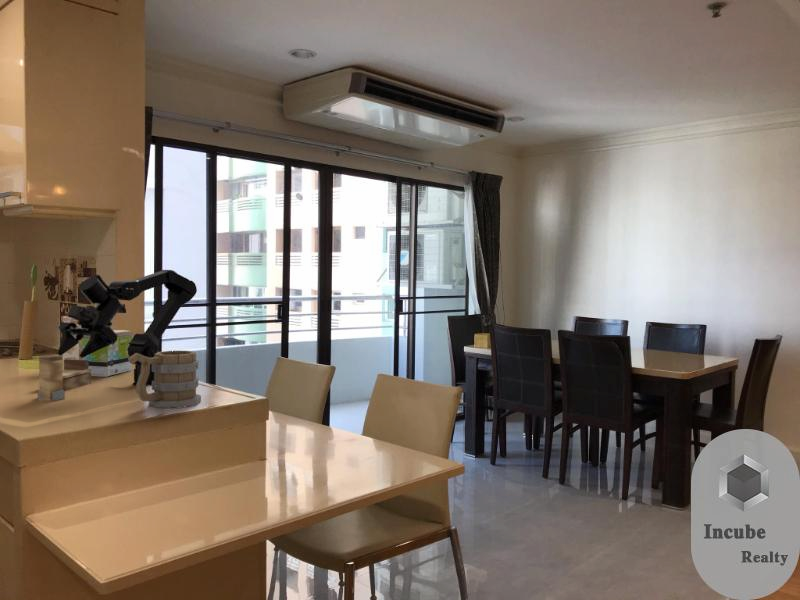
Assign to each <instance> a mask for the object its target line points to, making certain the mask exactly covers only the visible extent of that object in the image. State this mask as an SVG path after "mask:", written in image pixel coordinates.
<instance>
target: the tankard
mask: <svg viewBox="0 0 800 600" xmlns="http://www.w3.org/2000/svg"><path fill="white" fill-rule="evenodd" d="M128 360H129V362H130V363H131V364H132V365H135V364H134V363H135V362H136V361H139V362H141V370H140V375H139V378H138V381H137V385H136V394H137V395H138V397H139V400H141V401H142V402H148V405H149V406H150V405H151V407H154V406H155V408H158V407H159V409H170V408H169V407H182V408H185V407H184V406H188V407H192V406H191V405H194V406H197V405H198V404H199V403H200V402H201V401H202V395H201V394H197V388H198V387H199V378H198V377H197V370H199V360H197V352H196V351H194V350H193V351H191V350H165V351H164V350H163V351H158V353H155V354H154V357H153V358H149V357H146V356H143V355H141V354H139V353H135V354H134V355H132V356H131V357H129V358H128ZM150 364H152V372H154V380H153V381H152V385H151V389H152V390H153V391H154V392H151V393H148V392H147V388H146V387H147V385H146V382H147V379H148V376H149V372H150Z"/></svg>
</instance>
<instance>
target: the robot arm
mask: <svg viewBox="0 0 800 600" xmlns="http://www.w3.org/2000/svg"><path fill="white" fill-rule="evenodd" d="M161 285H163V286H164V288H165V289H166V290H167V299H166V300H165V302H164V304H163V305H162V307H161V308H160V310H159V311H158V313H157V314H156V315H155V317H154V318H153V320H152V321H151V323H150V325H148V327H147V328H146V330H145V331H144V332H143V333H135V334H133V336H132V340H131V342H129V343H128V344H130V345H129V346H128V349H127V351H128V355H129V357H131V356H132V355H134V354H135V353H139V354H141V355H143V356H146V357H149V358H153V357H154V354H155V353H158V352H159V351H158V350H159V349H160V339H161V337H162V336H163V334H164V333H165V332H166V330H167V328H168V327H169V325H170V324H171V322H172V321H173V319H174V318H175V317H176V315H177V313H178V312H179V310H180V309H181V308H182V306H184V305H185V304H187V303H189V302H190V301H191V300H192V299H193V298H194V297H195V296H196V294H197V291H198V289H197V285H196V283H195V282H194V281H193V280H190V279H188V278H187V277H185V276H182V275H181V274H179V273H177V272H176V271H174V270H173V269H161V270H160V271H157V272H154V273H151V274H147V275H144V276H142V277H138V278H136V279H130V280H117V281H112V282H111V283H109V285H108V284H107V283H106V282H105V281H104V280H103V278H102V276H100V274H93V275H92V276H91V277H89V278H87V279H85V280H84V281H81V283H80V284H79V285H78V290H79V291H80V292H81V293H82V294H83V295H84V297H85V298H86V299H87V300H88V301H89V302H90V303H91V304H94V305H95V304H97V305H96V306H93V305H86V306H80V305H71V306H70V308H69V311H68V313H67V315H66V316H68V317H71V318H74V319H76V320H78V322H77V323H78V324H79V325H81V328H79V327H78V326H77V325H76V324H75V323H71V322H63V321H62V323H61V324H60V325H59V326H58V329H59V332H60V333H61V335H62V337H61V342H60V344H59V347H58V351H57V354H58V355H57V356H63V354H64V353H65V352H67V351H68V350H70V349H71V348H72V347H74V346H75V345H77V344H78V343H79V342H78V341H79V340H81V339H82V338H83V337H84V336H83V335H87V336H90V340H89V341H88V343H87V344H86V346H85V347H84V349H83V350H82V352H81V354H80V357H81V358H83V357H85V356H87V355H89V354H91V353H93V352H95V351H97V350H100V349H102V348H104V347H106V346H109V345H110V344H113V345H114V343H115V342H116V341H117V334H116V333H115V332H114V331H113V330H114V329H113V328H112V327H111V326H112V325H113V323H112V322H111V321H112V320H113V319H114V318H115V316H116V315H117V314H126V313H127V309H126V304H125V303H124V304H123V303H121V301H132V300H135V299H136V298H137V297H139V296H140V295H141V293H143V292H145V291H148V290H151V289H154V288H156V287H160V286H161ZM133 365H134V366H135V367H134V369H133V383H132V385H134V384H136V385H135V386H137V381H138V378H139V375H140V370H141V362H139V361H136V362H135V363H134V364H133ZM153 380H154V372H152V364H150V372H149V376H148V379H147V382H146V386H152V381H153Z"/></svg>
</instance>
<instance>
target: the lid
mask: <svg viewBox="0 0 800 600" xmlns="http://www.w3.org/2000/svg"><path fill="white" fill-rule="evenodd" d="M62 371H63V378H69V377H73V376H76V375H80V374H84V373H87V372H91V369H88V360H85V359H64V369H63V368H62Z"/></svg>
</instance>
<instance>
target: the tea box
mask: <svg viewBox="0 0 800 600" xmlns="http://www.w3.org/2000/svg"><path fill="white" fill-rule="evenodd" d="M112 330H113V331H114V332H115V333H116V334H117V341H116V342H115V343H114V345H113V344H110V345H109V346H106V347H104V348H102V349H100V350H97V351H95V352H93V353H91V354H89V355H87V356H85V357H83V358H82V359H85V360H88V369H91V372H88V373H91V377H103V378H107V377H109V376H113V375H117V374H122V373H127V371H128V372H131V371H132V370H133V364H131V363H130V362H129V360H128V358H129V355H128V351H127V349H128V346H129V345H130V344H128V343H129V342H131V340H132V339H133V330H124V329H122V330H121V329H112ZM83 336H84V337H83V338H82V350H83V349H84V347H85V346H86V344H87V343H88V341H89V340H90V336H87V335H83Z"/></svg>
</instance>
